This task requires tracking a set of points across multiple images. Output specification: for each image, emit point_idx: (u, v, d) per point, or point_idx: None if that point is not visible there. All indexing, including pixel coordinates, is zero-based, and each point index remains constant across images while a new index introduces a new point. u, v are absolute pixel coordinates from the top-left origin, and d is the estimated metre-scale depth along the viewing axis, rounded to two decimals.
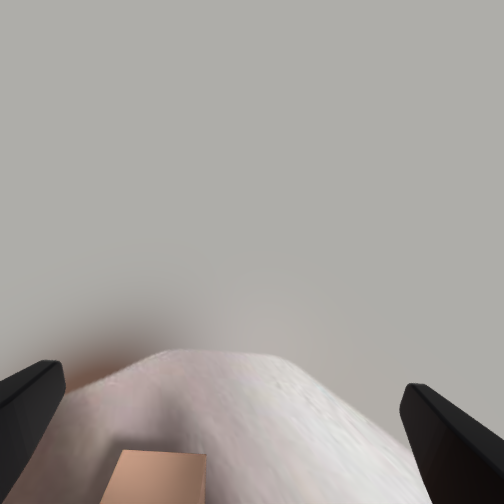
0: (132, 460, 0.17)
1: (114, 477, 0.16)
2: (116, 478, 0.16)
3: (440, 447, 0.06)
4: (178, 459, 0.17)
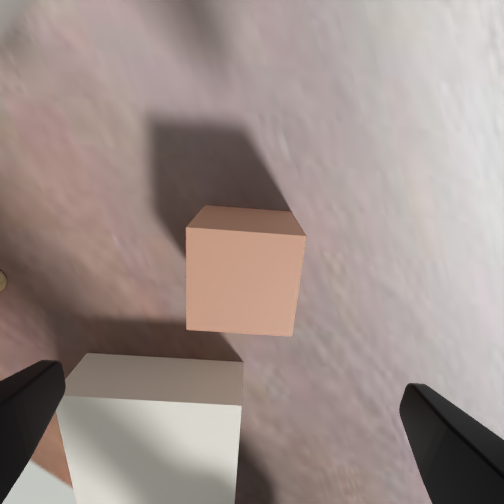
0: (205, 242, 0.12)
1: (190, 261, 0.12)
2: (193, 263, 0.12)
3: (440, 447, 0.06)
4: (267, 241, 0.12)
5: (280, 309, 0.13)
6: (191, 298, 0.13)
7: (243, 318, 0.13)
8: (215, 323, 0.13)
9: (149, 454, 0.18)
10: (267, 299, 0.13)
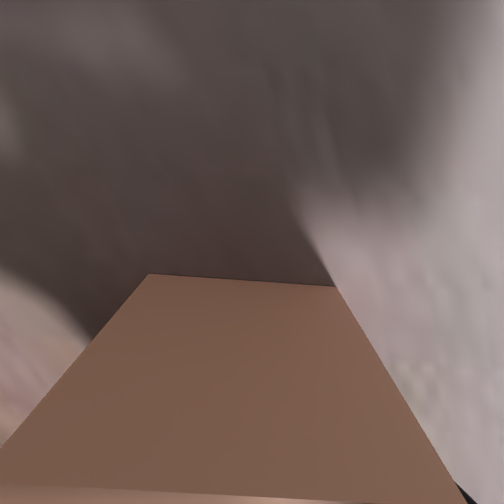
0: None
1: None
2: None
3: None
4: None
5: None
6: None
7: None
8: None
9: None
10: None
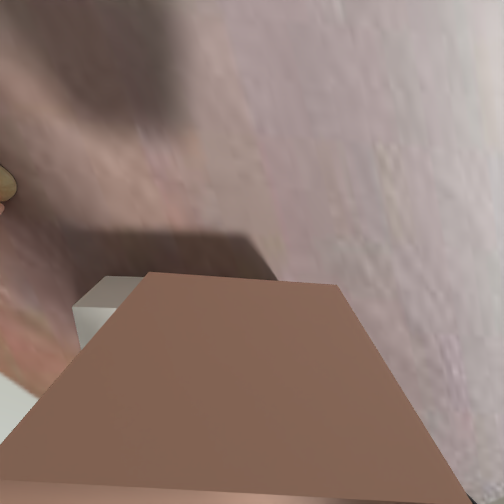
0: None
1: None
2: None
3: None
4: None
5: None
6: None
7: None
8: None
9: None
10: None
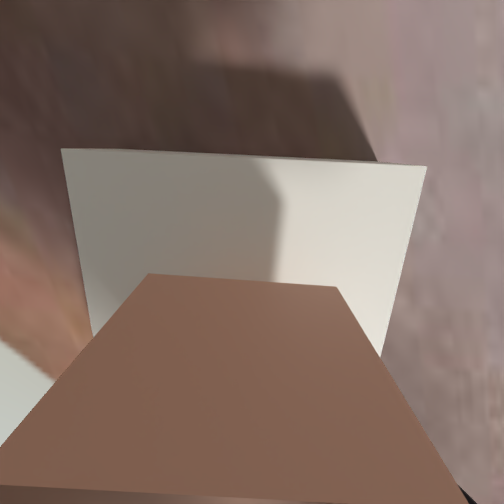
0: None
1: None
2: None
3: None
4: None
5: None
6: None
7: None
8: None
9: None
10: None
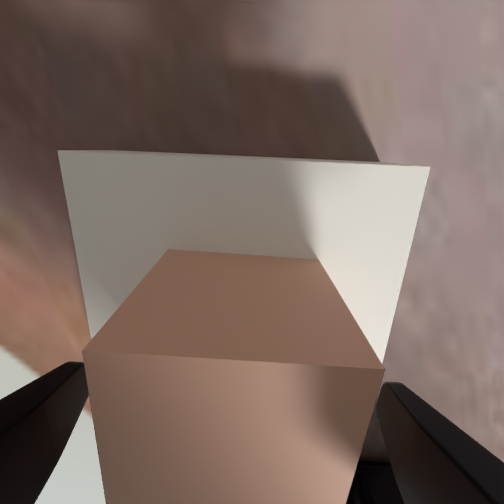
0: (133, 382, 0.05)
1: (103, 419, 0.05)
2: (110, 423, 0.05)
3: (411, 445, 0.06)
4: (287, 380, 0.05)
5: (311, 503, 0.06)
6: (114, 485, 0.06)
7: None
8: None
9: None
10: (284, 487, 0.06)
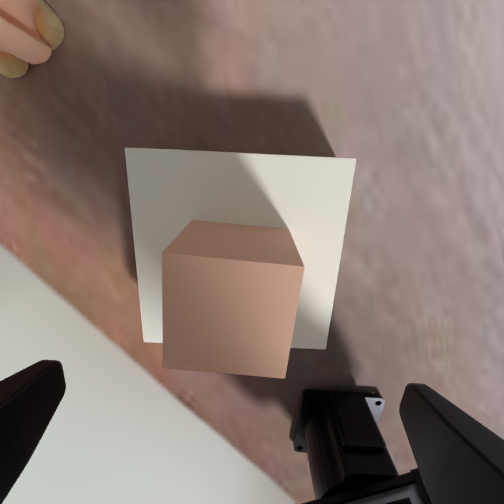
0: (184, 270, 0.10)
1: (167, 292, 0.10)
2: (170, 293, 0.10)
3: (440, 447, 0.06)
4: (258, 271, 0.10)
5: (271, 348, 0.11)
6: (168, 333, 0.11)
7: (229, 357, 0.11)
8: (196, 361, 0.11)
9: None
10: (257, 336, 0.11)
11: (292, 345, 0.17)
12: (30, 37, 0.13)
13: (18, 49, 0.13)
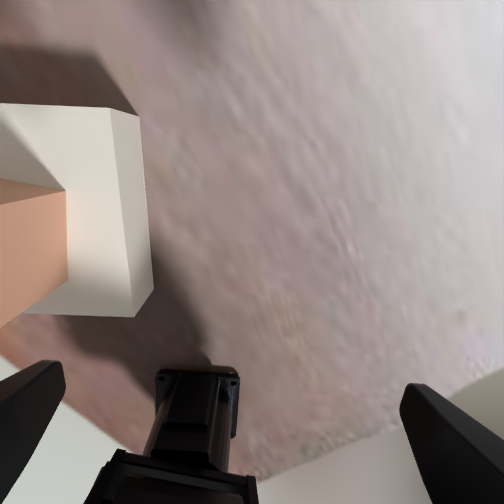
0: None
1: None
2: None
3: (440, 447, 0.06)
4: None
5: None
6: None
7: None
8: None
9: None
10: None
11: (98, 313, 0.16)
12: None
13: None
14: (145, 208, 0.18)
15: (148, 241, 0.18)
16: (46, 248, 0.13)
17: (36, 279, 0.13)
